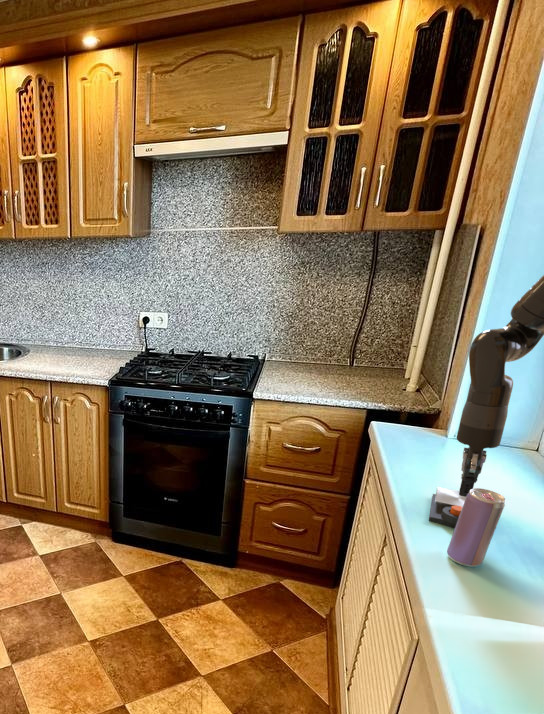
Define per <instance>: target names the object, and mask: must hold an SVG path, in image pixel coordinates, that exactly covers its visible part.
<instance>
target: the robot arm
mask: <svg viewBox="0 0 544 714" xmlns="http://www.w3.org/2000/svg"><path fill="white" fill-rule="evenodd" d="M510 316H511V319H510V321H509V322H508V323H507V324H506V325H505V326H504V327H501V328H491V329H487V330H484V331H481V332H480V333H478V334H477V335H476V336H475V338H474V339H473V341H472V342H471V344H470V348H469V351H468V363H469V365H468V366H469V376H470V383H469V388H468V392H467V397H466V400H465V403H464V406H463V408H462V412H461V416H460V419H459V426H458V430H457V434H456V440H457V441H458V442H459V443H460V444H462V445H465V446H468V447H463V451H462V462H461V471H462V473H461V482H460V486H459V490H458V491H459V495H460V496H465V497H466V496H467V494H468V493H469V491H470V490H471V489H474V486H475V484H476V483H477V482H478V478H479V475H481V473H482V470H483V466H484V463H486V460H487V455H488V454H487V450H485V449H495V448H498V447H499V446H500V445H501V441H502V438H503V433H504V430H505V426H506V422H507V419H508V411H509V404H510V400H511V396H512V393H513V387H514V380H513V378H512V377H511V376H509V375H508V374H506V363H512V362H515V361H518V360H520V359H522V358H524V357H525V356H527V355H528V354H529V353H530V352H532V351H533V350H534V348H536V346H537V345H538V343H539V342H540V341H541V339H543V337H544V274H543V275H542V276H541V277H540V278H538V280H537V281H536V282H534V284H533V285H532V286H531V287H530V288H529V289H528V290H527V291H526V292H524V294H523V295H522V296H521V298H519V299H518V300H517V301H516V302H515V303H514V305H513V306H512V308H511V310H510Z"/></svg>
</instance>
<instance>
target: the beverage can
mask: <svg viewBox="0 0 544 714" xmlns="http://www.w3.org/2000/svg"><path fill="white" fill-rule="evenodd" d="M505 502H506V497H504V496H503V495H501V494H500V493H498V492H495V491H494V490H490V489H486V488H480V487H479V488H477V487H475V488H474V487H473V489H471V490H470V491H469V493H468V494H467V496H466V499H465V502H464V504H463V507H462V510H461V513H460V516H459V518H458V521H457V524H456V527H455V528H454V529H453V532H452V535H451V537H450V541H449V544H448V547H447V549H446V554H447V556H448V557H449V559H450V560H451V561H453V562H454V563H456V564H459V565H461V566H464V567H469V568H476V567H478V566H480V565H482V564H483V563H484V559H485V558H486V554H487V552H488V549H489V547H490V544H491V541H492V539H493V536H494V534H495V532H496V529H497V527H498V523H499V521H500V519H501V516H502V513H503V510H504V509H505V506H506V504H505Z"/></svg>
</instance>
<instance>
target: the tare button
mask: <svg viewBox="0 0 544 714" xmlns="http://www.w3.org/2000/svg"><path fill="white" fill-rule="evenodd" d="M461 510H462V507H461V506H457V505H454V506H452V507H451V511H450V513H451V514H453V515H456V516H460V513H461Z"/></svg>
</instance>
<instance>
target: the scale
mask: <svg viewBox="0 0 544 714" xmlns="http://www.w3.org/2000/svg"><path fill="white" fill-rule="evenodd" d="M435 498H436V493H432V495H431V502H430V508H429V516H428V522H431V523H435V524H439V525H442V526H447V527H450V528H454V529H455V527H456V524H457V521H458V518H459V516H456V515H453V514H451V513H450V511H451V507H452V506H449V505H445V504H440V503H435Z"/></svg>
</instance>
